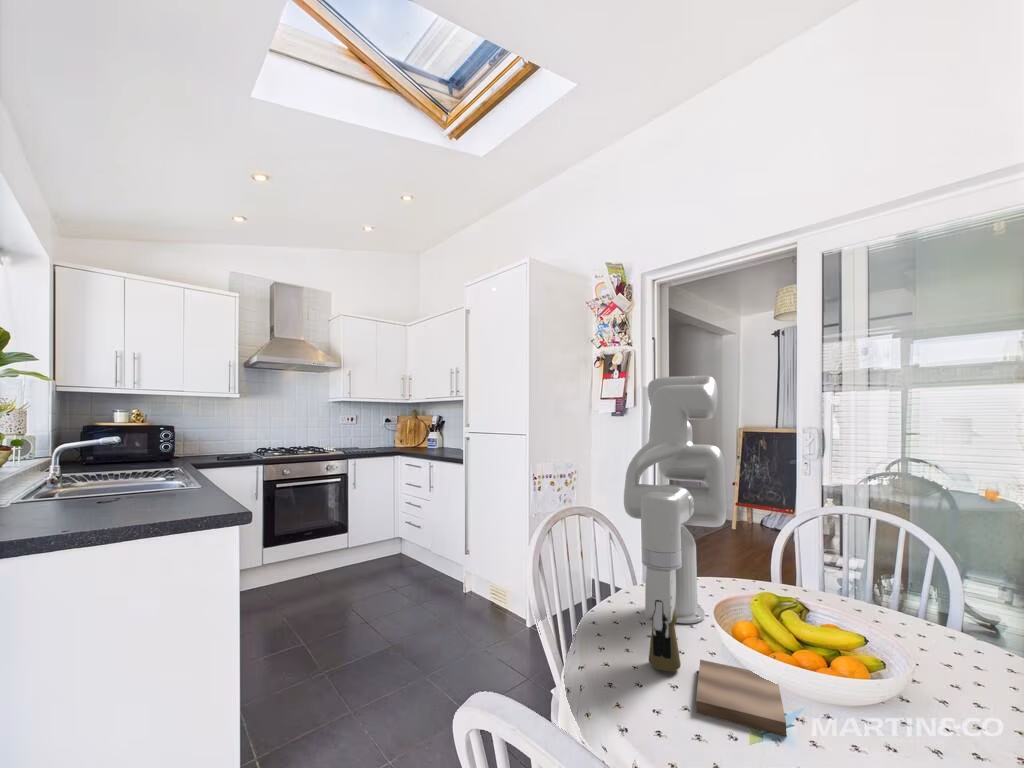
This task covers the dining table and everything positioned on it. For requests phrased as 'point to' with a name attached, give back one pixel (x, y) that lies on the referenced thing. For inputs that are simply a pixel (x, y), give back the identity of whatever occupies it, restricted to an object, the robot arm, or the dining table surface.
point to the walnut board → (739, 697)
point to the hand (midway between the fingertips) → (663, 649)
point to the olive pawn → (674, 661)
